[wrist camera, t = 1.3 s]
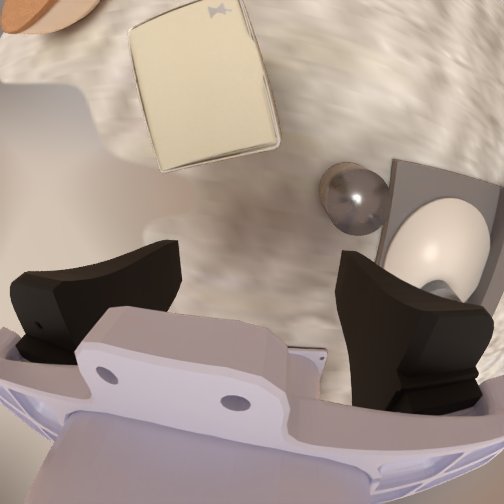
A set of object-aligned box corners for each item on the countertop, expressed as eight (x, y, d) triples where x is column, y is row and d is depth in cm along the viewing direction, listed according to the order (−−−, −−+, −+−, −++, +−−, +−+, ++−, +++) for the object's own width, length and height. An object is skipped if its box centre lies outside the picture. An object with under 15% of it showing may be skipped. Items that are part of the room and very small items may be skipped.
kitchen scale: (470, 323, 24) (481, 340, 21) (357, 326, 25) (364, 348, 22) (513, 191, 17) (532, 200, 14) (392, 158, 18) (409, 164, 15)
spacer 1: (369, 219, 21) (385, 238, 17) (316, 214, 21) (323, 232, 17) (376, 166, 19) (395, 174, 15) (321, 159, 19) (330, 165, 16)
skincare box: (207, 75, 17) (121, 23, 6) (264, 60, 16) (237, -21, 5) (226, 151, 20) (155, 179, 9) (283, 139, 19) (283, 148, 8)
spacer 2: (440, 318, 22) (456, 344, 18) (405, 319, 22) (419, 347, 19) (456, 280, 20) (476, 304, 16) (419, 278, 20) (438, 304, 17)
